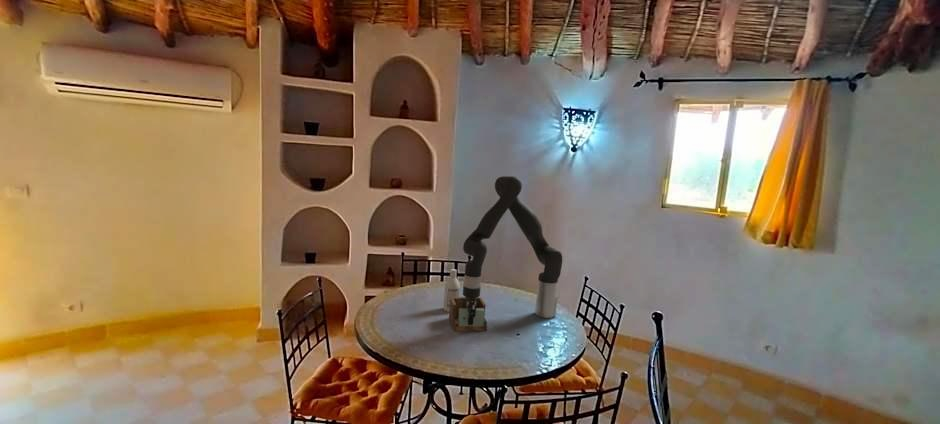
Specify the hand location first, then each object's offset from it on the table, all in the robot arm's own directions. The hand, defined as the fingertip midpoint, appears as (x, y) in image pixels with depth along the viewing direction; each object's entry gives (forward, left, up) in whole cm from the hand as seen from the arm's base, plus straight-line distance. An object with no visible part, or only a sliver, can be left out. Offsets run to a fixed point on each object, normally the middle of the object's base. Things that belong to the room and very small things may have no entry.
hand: (469, 321), depth 221 cm
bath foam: (+5, -22, -3) cm, 22 cm away
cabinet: (0, -4, -3) cm, 5 cm away
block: (-1, 0, -3) cm, 3 cm away
